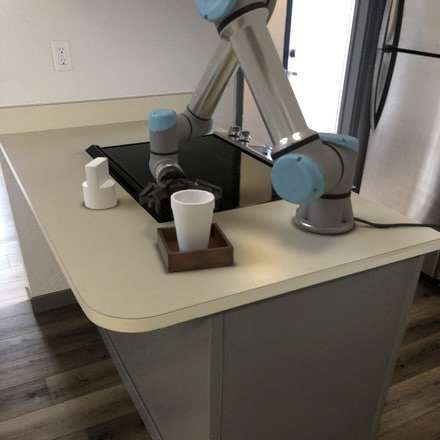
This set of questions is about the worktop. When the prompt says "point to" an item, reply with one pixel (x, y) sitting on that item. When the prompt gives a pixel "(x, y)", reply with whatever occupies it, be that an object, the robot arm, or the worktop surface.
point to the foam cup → (192, 218)
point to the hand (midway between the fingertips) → (188, 207)
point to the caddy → (195, 259)
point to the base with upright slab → (99, 185)
